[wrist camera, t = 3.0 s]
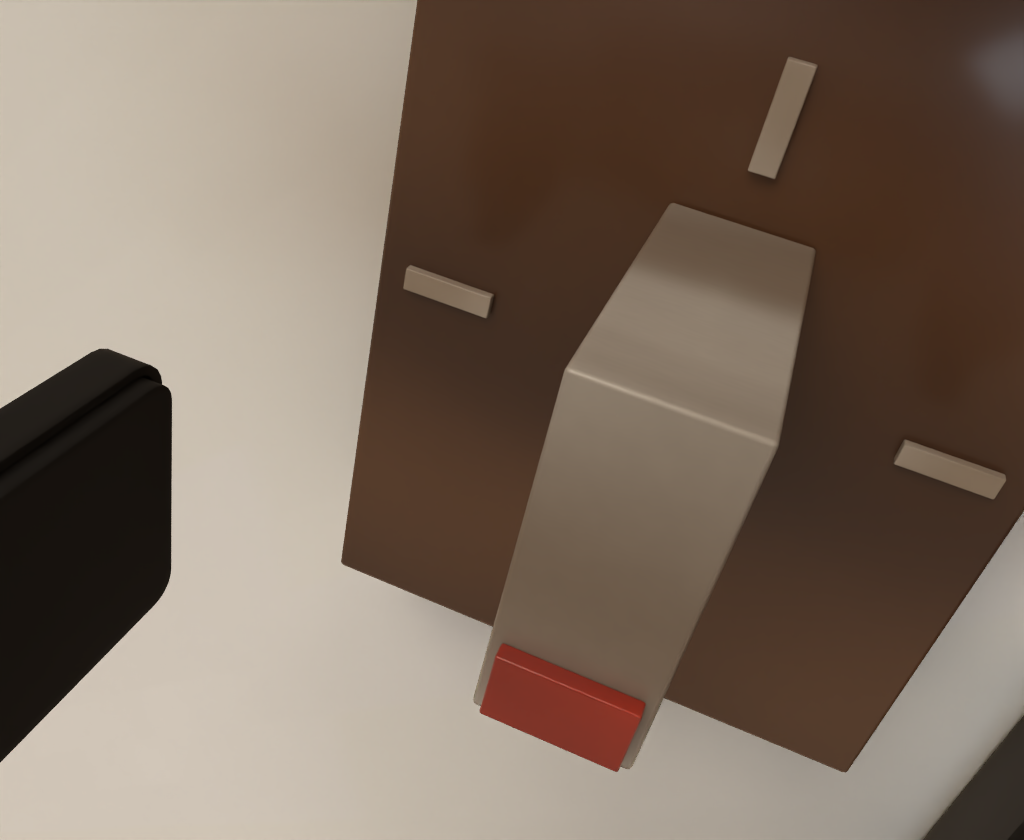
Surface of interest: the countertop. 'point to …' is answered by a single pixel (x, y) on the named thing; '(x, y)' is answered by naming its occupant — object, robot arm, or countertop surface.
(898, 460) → the dial panel
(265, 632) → the countertop surface
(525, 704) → the bar knob
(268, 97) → the countertop surface
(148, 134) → the countertop surface
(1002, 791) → the button box
